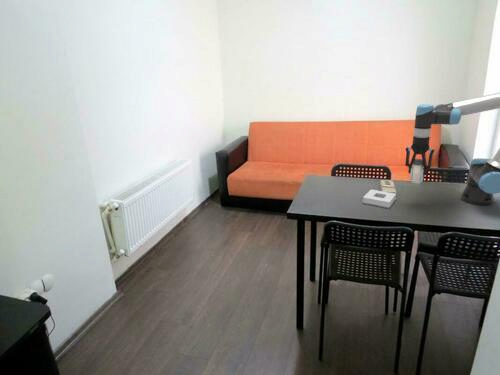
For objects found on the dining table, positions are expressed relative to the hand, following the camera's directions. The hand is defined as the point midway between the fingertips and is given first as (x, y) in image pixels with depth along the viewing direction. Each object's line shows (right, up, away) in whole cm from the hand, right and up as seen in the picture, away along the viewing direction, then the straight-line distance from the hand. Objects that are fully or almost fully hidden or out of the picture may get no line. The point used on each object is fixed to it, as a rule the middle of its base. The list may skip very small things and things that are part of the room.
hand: (416, 179), depth 183 cm
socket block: (-16, -12, +10) cm, 22 cm away
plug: (0, -1, 0) cm, 1 cm away
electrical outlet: (-5, -7, +25) cm, 26 cm away
